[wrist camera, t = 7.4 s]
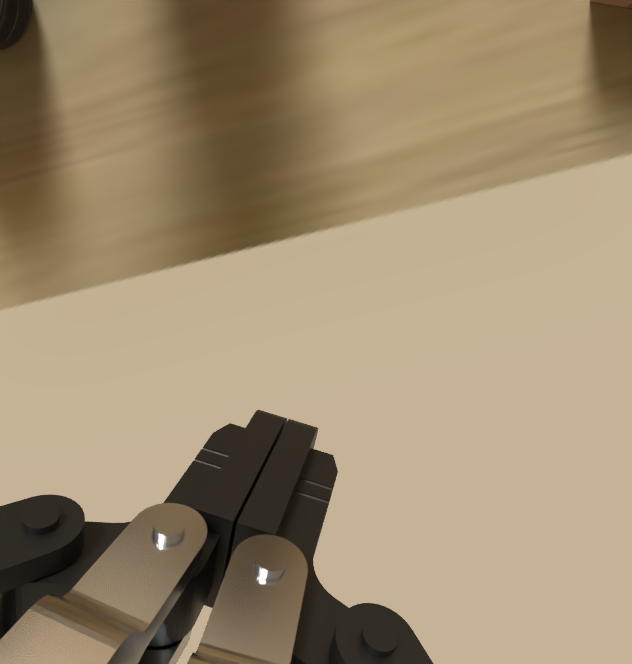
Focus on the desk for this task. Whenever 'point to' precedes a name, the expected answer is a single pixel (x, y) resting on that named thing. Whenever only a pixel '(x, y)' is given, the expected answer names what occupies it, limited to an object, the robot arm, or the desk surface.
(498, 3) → the desk surface
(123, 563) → the robot arm
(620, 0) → the console
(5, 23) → the camera lens
